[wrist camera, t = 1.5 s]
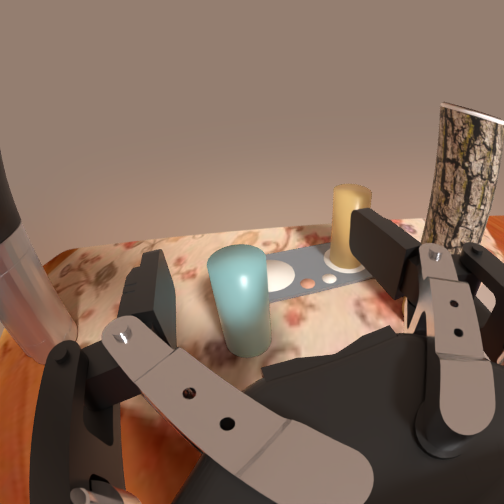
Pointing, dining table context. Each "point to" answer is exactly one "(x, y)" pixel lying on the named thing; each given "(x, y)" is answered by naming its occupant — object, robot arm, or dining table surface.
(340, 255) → the amber tube
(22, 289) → the robot arm
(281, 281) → the card
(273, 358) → the dining table surface
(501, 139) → the wooden log
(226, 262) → the teal tube
